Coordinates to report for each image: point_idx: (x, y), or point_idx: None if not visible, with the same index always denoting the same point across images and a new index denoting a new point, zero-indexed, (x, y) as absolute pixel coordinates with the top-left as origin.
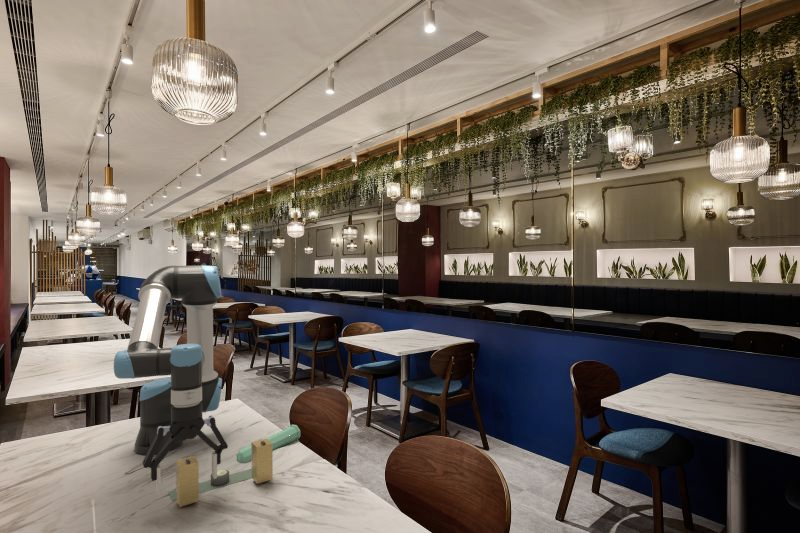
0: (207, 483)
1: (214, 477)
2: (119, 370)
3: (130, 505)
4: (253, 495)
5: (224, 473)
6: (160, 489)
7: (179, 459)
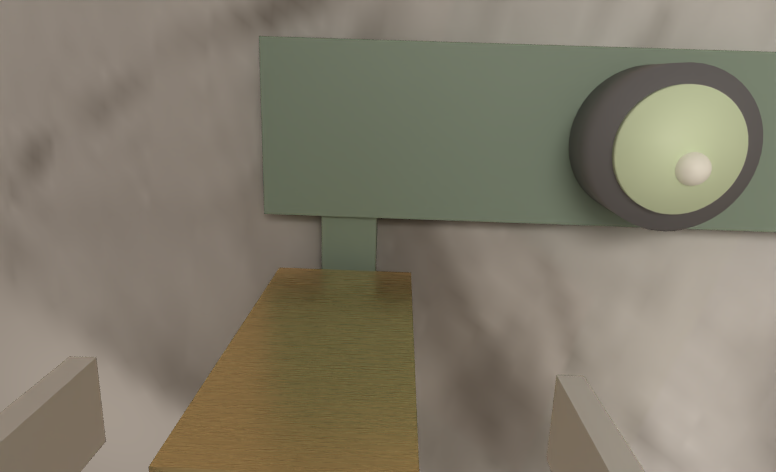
0: (554, 98)
1: (553, 466)
2: None
3: (9, 10)
4: (739, 412)
5: (705, 195)
6: (86, 463)
7: (198, 468)
